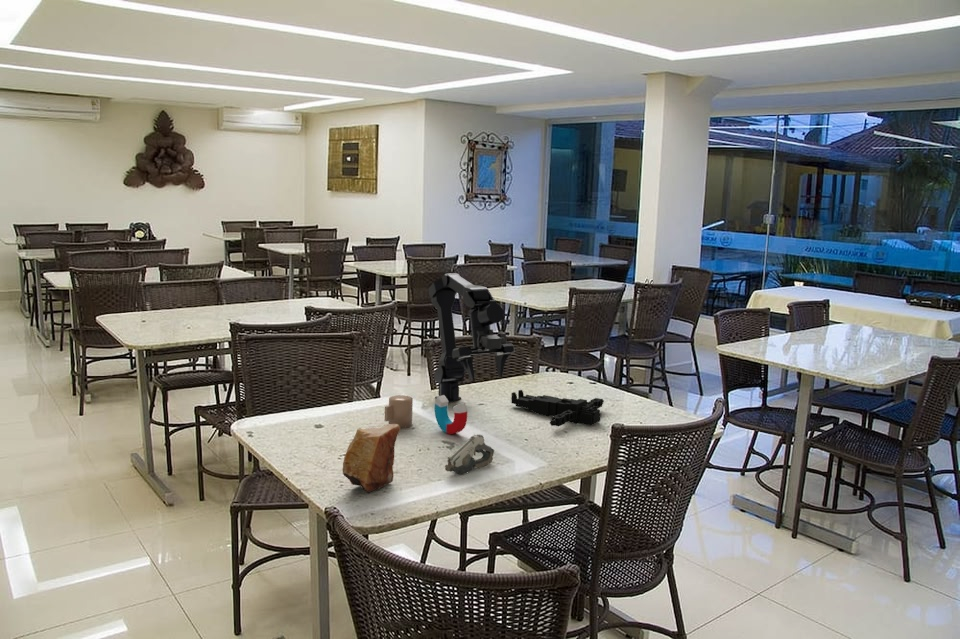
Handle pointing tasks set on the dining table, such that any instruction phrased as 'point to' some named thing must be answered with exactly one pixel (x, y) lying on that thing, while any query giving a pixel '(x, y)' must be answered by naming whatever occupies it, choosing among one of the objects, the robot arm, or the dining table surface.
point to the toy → (561, 408)
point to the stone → (371, 457)
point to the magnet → (444, 420)
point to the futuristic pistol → (470, 456)
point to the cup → (399, 411)
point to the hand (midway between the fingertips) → (486, 379)
